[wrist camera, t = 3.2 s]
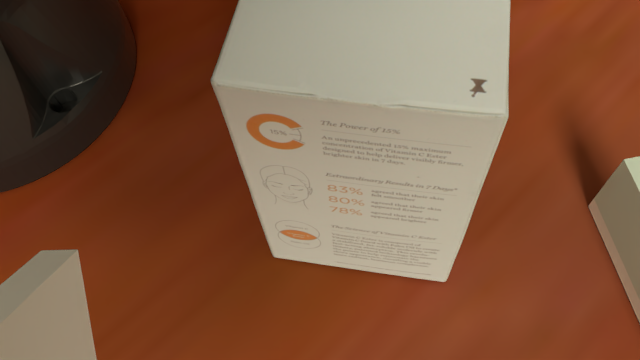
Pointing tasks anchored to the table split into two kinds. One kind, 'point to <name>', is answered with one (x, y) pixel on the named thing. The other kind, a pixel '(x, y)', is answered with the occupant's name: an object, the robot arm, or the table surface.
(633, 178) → the tray
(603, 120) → the table surface
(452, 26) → the small box
